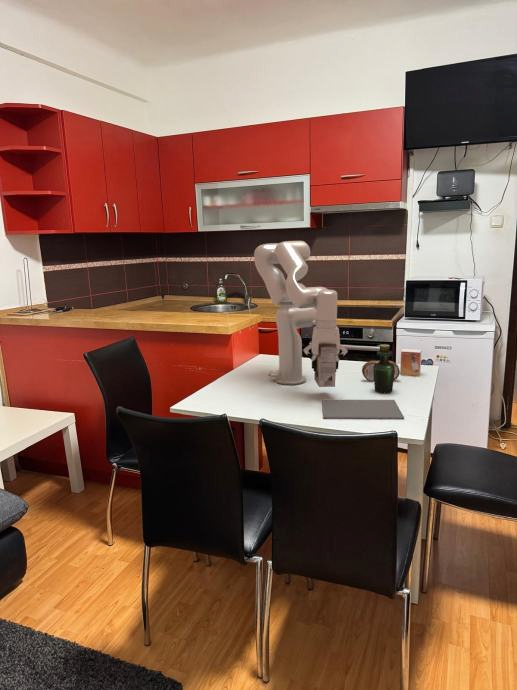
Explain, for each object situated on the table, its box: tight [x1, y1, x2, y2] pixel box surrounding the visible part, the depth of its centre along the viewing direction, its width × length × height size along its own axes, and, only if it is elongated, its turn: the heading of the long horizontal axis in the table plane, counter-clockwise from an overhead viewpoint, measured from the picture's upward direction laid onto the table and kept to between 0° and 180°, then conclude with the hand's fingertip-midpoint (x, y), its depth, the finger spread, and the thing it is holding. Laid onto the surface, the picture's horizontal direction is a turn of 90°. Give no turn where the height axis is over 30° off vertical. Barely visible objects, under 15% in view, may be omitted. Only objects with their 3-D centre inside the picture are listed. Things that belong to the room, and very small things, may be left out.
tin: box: [361, 360, 400, 382], centre depth 201 cm, size 15×3×8 cm, turn 84°
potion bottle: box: [373, 343, 395, 395], centre depth 187 cm, size 8×8×18 cm
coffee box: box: [313, 344, 337, 388], centre depth 182 cm, size 9×6×16 cm
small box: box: [399, 348, 422, 377], centre depth 209 cm, size 8×6×10 cm
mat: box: [321, 399, 405, 420], centre depth 169 cm, size 26×18×1 cm
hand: (324, 370), depth 183 cm, fingers closed on coffee box, 7 cm apart
